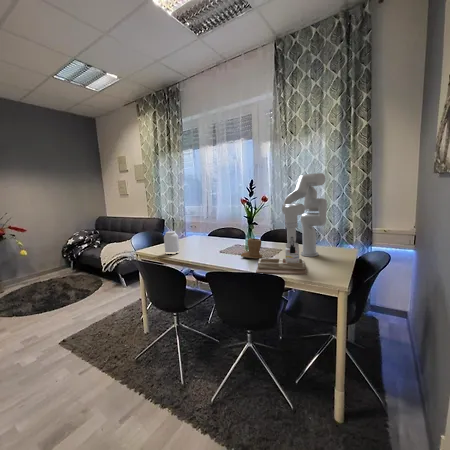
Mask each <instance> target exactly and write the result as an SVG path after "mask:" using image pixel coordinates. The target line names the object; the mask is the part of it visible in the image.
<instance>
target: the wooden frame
mask: <svg viewBox="0 0 450 450" xmlns="http://www.w3.org/2000/svg"><path fill="white" fill-rule="evenodd" d="M256 273H265V274H264V275H298V276H299V275H302V276H303V275H305V276H306V275H307V269H306V264H305V260H304V258H299V263H286V258H258V261H257V268H256V271H255V274H256Z"/></svg>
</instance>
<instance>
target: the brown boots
mask: <svg viewBox="0 0 450 450" xmlns="http://www.w3.org/2000/svg"><path fill="white" fill-rule="evenodd" d="M247 248H248V252H243V253H241V254H240V257H242V258H247V259H258V260H259V259H262V258H263V255H262V254H261V253H260V250H261V248H262V239H260V238H251V237H250V238H248V240H247Z"/></svg>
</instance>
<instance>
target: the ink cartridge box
mask: <svg viewBox="0 0 450 450" xmlns="http://www.w3.org/2000/svg"><path fill="white" fill-rule="evenodd" d="M299 244H300V243H298V242H296V243H295V253H290V243H289V244H288V242H287V243H285V259H286V263H299V259H300V246H299Z"/></svg>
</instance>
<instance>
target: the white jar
mask: <svg viewBox="0 0 450 450" xmlns="http://www.w3.org/2000/svg"><path fill="white" fill-rule="evenodd" d="M163 243H164V253H165V252H177V251H179V250H180V241H179V235H178V233H176V231H175V230H170V231H166V232H165V234H164V236H163Z"/></svg>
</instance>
